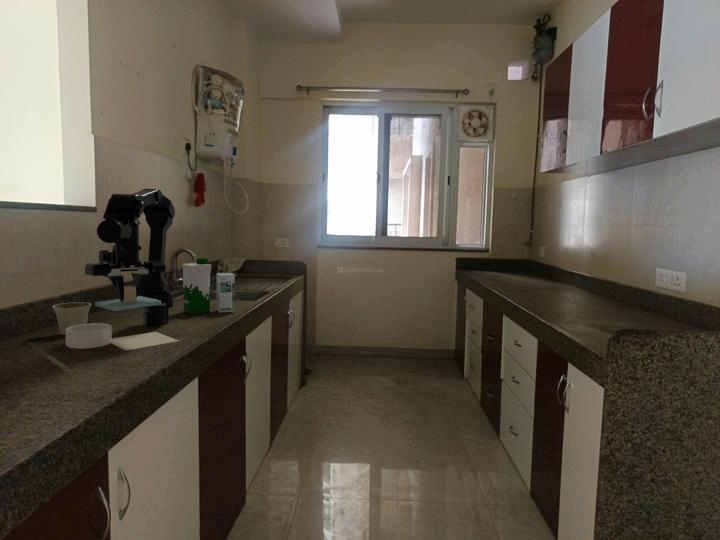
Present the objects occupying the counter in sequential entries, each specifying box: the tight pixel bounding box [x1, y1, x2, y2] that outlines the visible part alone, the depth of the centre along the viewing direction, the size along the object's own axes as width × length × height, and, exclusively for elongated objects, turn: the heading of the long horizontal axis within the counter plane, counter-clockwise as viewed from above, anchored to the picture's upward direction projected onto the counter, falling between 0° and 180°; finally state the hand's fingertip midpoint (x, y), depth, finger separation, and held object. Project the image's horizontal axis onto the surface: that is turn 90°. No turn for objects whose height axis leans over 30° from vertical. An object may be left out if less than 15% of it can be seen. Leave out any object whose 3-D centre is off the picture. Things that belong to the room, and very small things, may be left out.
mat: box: [110, 331, 180, 351], centre depth 122 cm, size 14×14×1 cm
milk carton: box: [182, 257, 212, 315], centre depth 166 cm, size 9×9×20 cm
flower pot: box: [52, 301, 92, 335], centre depth 129 cm, size 9×9×9 cm
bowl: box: [65, 322, 113, 350], centre depth 118 cm, size 10×10×5 cm
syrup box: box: [216, 272, 236, 314], centre depth 170 cm, size 6×6×14 cm
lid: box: [94, 284, 161, 312], centre depth 120 cm, size 12×12×5 cm
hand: (128, 300), depth 120 cm, fingers closed on lid, 3 cm apart
